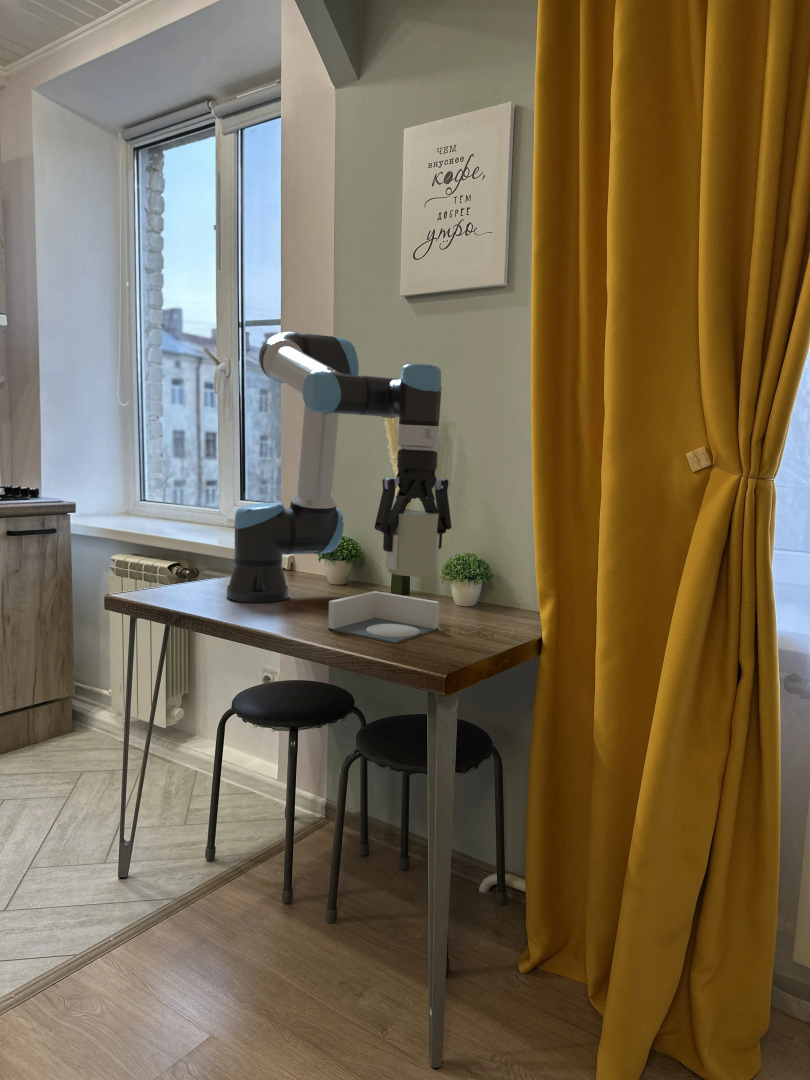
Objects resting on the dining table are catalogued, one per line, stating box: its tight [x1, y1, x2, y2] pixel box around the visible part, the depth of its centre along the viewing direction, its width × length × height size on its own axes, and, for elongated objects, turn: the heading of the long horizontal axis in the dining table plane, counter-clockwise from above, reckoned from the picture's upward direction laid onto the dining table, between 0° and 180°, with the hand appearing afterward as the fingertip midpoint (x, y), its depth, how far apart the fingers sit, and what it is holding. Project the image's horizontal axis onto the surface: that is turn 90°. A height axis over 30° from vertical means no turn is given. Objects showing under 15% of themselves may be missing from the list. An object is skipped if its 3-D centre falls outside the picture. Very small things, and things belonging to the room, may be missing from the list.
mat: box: [327, 618, 439, 644], centre depth 156 cm, size 17×16×1 cm
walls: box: [327, 590, 440, 632], centre depth 155 cm, size 17×16×6 cm
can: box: [387, 508, 439, 578], centre depth 141 cm, size 9×9×12 cm
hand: (411, 567), depth 142 cm, fingers closed on can, 9 cm apart
